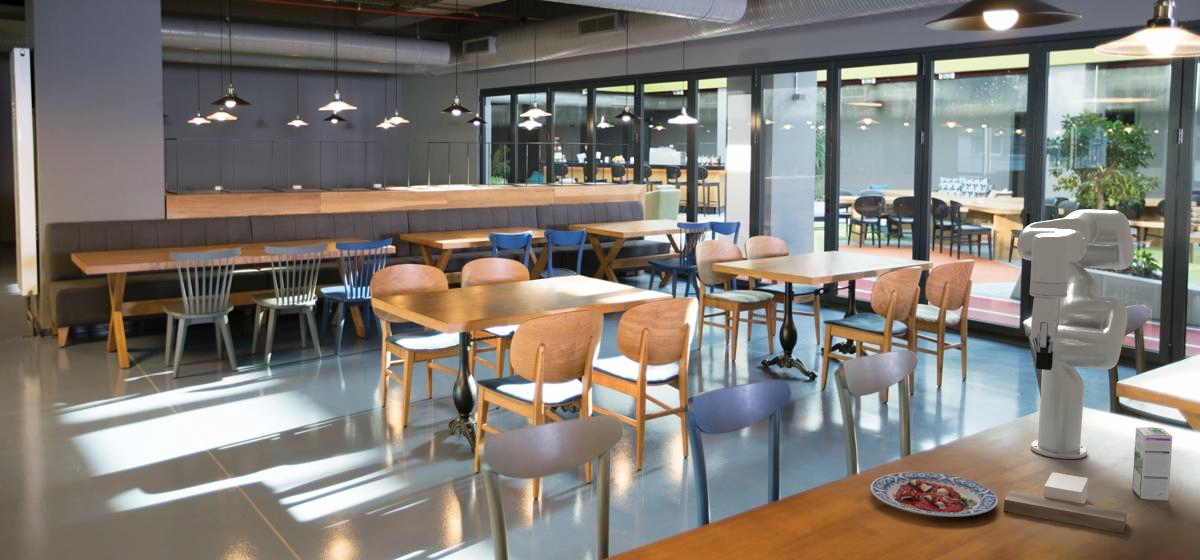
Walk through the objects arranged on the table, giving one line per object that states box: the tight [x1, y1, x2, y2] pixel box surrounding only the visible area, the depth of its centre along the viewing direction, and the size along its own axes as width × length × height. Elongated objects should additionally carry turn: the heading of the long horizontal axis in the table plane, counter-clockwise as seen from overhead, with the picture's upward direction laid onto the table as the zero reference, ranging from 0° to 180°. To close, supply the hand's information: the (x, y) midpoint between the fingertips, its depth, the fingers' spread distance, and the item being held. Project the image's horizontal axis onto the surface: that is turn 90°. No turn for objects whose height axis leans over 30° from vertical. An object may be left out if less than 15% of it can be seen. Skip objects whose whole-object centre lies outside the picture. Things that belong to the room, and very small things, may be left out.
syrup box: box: [1132, 426, 1173, 501], centre depth 207 cm, size 6×6×14 cm
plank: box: [1003, 490, 1128, 534], centre depth 197 cm, size 6×22×2 cm, turn 57°
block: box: [1043, 472, 1089, 504], centre depth 204 cm, size 10×7×5 cm
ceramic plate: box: [870, 471, 999, 518], centre depth 206 cm, size 26×26×3 cm
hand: (1044, 368), depth 217 cm, fingers closed
